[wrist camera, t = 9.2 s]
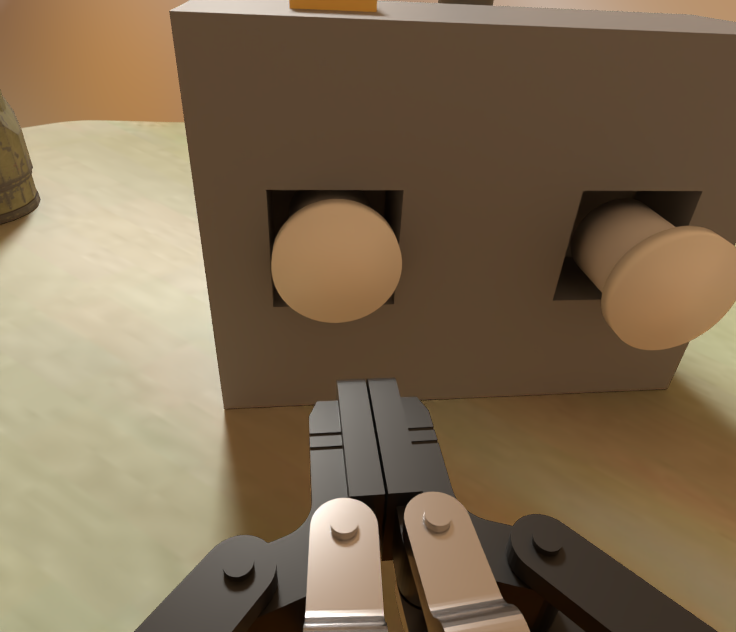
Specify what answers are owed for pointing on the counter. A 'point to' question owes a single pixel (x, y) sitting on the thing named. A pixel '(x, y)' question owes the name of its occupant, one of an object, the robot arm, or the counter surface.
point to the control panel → (447, 181)
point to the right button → (655, 274)
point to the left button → (335, 256)
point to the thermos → (14, 168)
